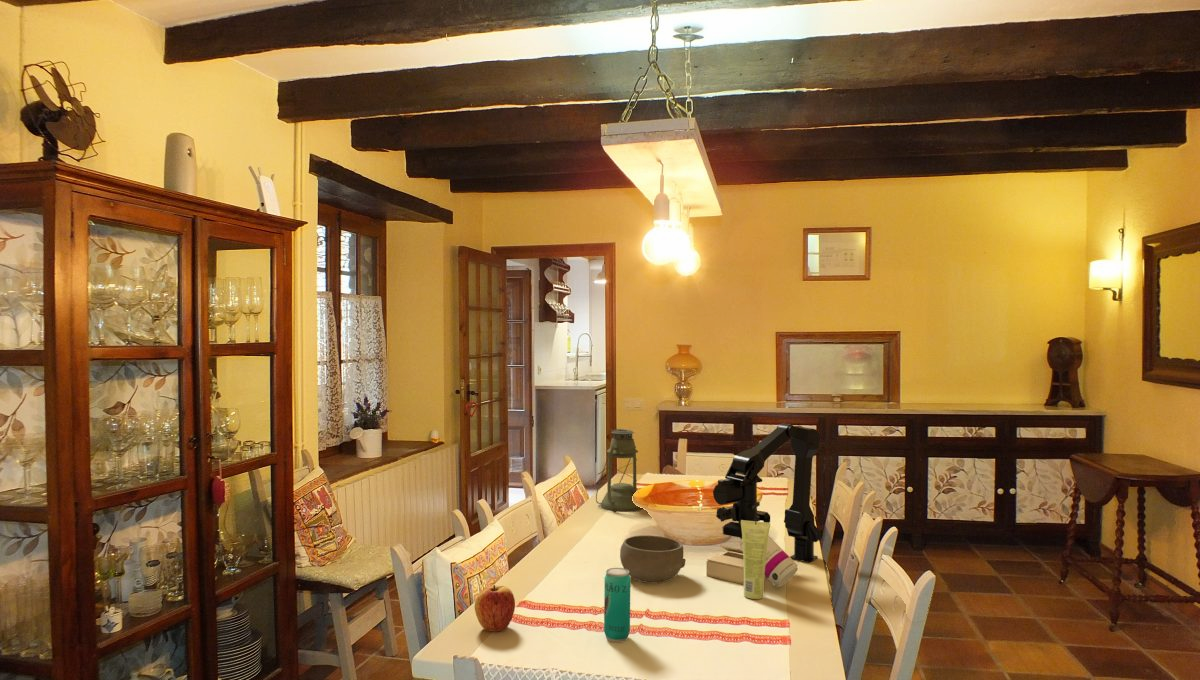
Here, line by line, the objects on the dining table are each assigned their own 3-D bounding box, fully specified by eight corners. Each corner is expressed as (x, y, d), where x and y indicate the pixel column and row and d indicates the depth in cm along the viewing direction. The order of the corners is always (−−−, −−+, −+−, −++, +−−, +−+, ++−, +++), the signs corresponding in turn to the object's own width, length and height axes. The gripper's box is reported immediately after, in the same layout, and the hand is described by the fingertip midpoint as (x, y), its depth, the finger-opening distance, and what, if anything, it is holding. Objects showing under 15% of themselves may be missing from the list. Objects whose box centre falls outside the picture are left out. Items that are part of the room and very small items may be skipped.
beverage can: (602, 633, 172) (603, 567, 172) (628, 633, 172) (628, 566, 172) (605, 644, 166) (605, 575, 166) (631, 643, 167) (632, 575, 166)
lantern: (626, 514, 284) (627, 434, 284) (587, 508, 294) (588, 430, 293) (653, 504, 301) (654, 428, 301) (616, 498, 311) (616, 425, 311)
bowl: (691, 573, 216) (692, 538, 216) (670, 592, 200) (671, 554, 200) (635, 564, 223) (635, 530, 223) (610, 582, 207) (610, 546, 207)
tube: (757, 591, 201) (758, 517, 201) (769, 598, 196) (770, 522, 196) (739, 594, 198) (740, 520, 198) (751, 601, 194) (752, 524, 194)
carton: (726, 565, 223) (726, 549, 223) (771, 575, 215) (771, 558, 215) (706, 575, 214) (706, 559, 213) (752, 586, 205) (752, 569, 205)
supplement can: (794, 565, 199) (754, 523, 207) (773, 588, 199) (733, 545, 208) (802, 567, 205) (762, 526, 214) (781, 589, 206) (743, 548, 214)
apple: (480, 639, 168) (480, 594, 168) (470, 624, 176) (470, 581, 176) (519, 633, 172) (520, 589, 172) (508, 619, 180) (508, 577, 180)
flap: (727, 550, 223) (727, 549, 223) (770, 559, 215) (770, 558, 215) (720, 546, 219) (720, 545, 219) (763, 554, 211) (764, 553, 211)
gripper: (736, 488, 230) (737, 539, 230) (705, 502, 215) (706, 556, 216) (770, 493, 223) (771, 546, 224) (741, 508, 208) (742, 564, 209)
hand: (747, 552), depth 218 cm, fingers closed
